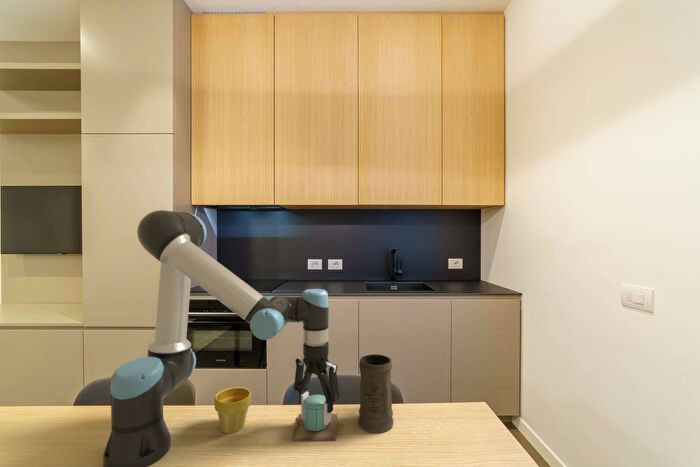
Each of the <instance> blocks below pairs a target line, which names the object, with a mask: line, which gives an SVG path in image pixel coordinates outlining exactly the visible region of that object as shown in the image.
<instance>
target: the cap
mask: <svg viewBox="0 0 700 467" xmlns="http://www.w3.org/2000/svg"><path fill="white" fill-rule="evenodd" d="M324 401H326V398H325V395H323V394H312V395H309V396H308V397H307V398H306V399H305V400H304V404H303V425H304V426H305V428H306V429H307V430H312V431H319V430H322V429H325V428H326V427H327V426H328V424H329V423H328V424H327V425H324Z"/></svg>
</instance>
